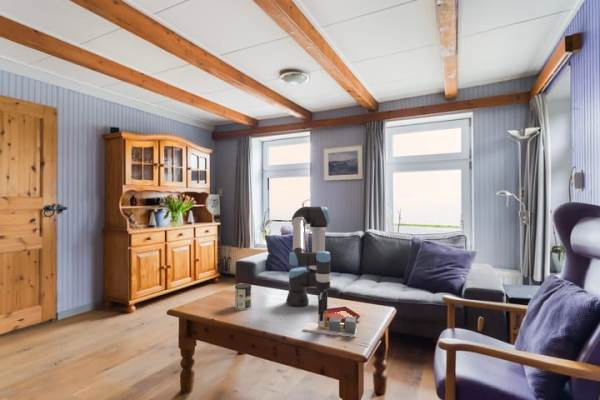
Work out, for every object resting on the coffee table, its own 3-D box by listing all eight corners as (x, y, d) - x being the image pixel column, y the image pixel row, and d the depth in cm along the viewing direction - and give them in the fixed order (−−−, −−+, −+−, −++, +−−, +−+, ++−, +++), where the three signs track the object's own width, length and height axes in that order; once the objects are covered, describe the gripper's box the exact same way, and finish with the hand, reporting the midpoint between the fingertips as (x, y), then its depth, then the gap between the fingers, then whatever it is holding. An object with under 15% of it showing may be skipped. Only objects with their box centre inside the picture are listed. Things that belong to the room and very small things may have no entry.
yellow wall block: (318, 327, 165) (318, 312, 165) (320, 325, 169) (320, 310, 169) (352, 332, 160) (352, 316, 160) (353, 329, 164) (353, 313, 164)
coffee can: (249, 304, 208) (249, 282, 208) (252, 309, 198) (252, 286, 198) (233, 305, 204) (233, 284, 204) (236, 311, 194) (236, 288, 194)
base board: (307, 323, 174) (307, 322, 174) (357, 329, 167) (357, 328, 167) (302, 331, 165) (302, 329, 165) (355, 337, 157) (355, 335, 157)
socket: (346, 327, 167) (346, 316, 167) (356, 329, 165) (356, 317, 165) (344, 333, 160) (344, 321, 160) (354, 334, 159) (354, 322, 159)
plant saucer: (319, 314, 190) (319, 309, 190) (345, 311, 196) (345, 305, 196) (332, 326, 173) (332, 320, 173) (361, 321, 179) (361, 315, 179)
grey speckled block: (330, 326, 168) (330, 317, 168) (341, 327, 167) (341, 318, 167) (328, 330, 163) (328, 321, 163) (340, 332, 161) (340, 322, 161)
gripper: (319, 276, 176) (319, 317, 176) (312, 284, 159) (311, 330, 159) (333, 277, 174) (332, 319, 174) (326, 285, 157) (326, 332, 157)
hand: (322, 324), depth 167 cm, fingers open, 5 cm apart
